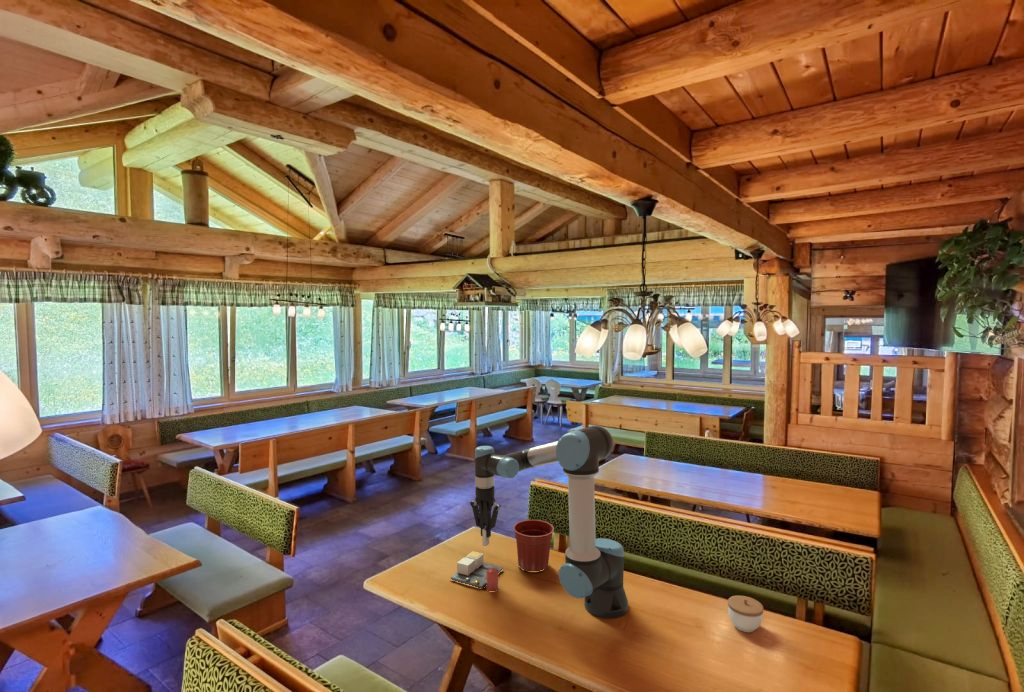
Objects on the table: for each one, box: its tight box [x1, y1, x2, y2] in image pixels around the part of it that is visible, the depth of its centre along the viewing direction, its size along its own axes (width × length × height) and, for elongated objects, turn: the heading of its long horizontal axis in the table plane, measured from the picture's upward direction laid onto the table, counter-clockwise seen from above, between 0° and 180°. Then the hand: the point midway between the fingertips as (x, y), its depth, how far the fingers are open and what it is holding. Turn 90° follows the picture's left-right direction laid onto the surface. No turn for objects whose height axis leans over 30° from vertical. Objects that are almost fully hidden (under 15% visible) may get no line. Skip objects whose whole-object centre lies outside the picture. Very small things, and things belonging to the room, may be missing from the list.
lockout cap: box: [486, 568, 499, 592], centre depth 193 cm, size 4×4×7 cm
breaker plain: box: [456, 556, 475, 575], centre depth 203 cm, size 5×5×4 cm
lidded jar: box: [727, 595, 764, 633], centre depth 170 cm, size 11×11×9 cm
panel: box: [450, 561, 504, 589], centre depth 203 cm, size 14×16×2 cm
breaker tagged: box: [465, 550, 484, 569], centre depth 208 cm, size 5×5×4 cm
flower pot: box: [512, 519, 555, 572], centre depth 211 cm, size 16×16×16 cm
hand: (486, 544), depth 205 cm, fingers closed
